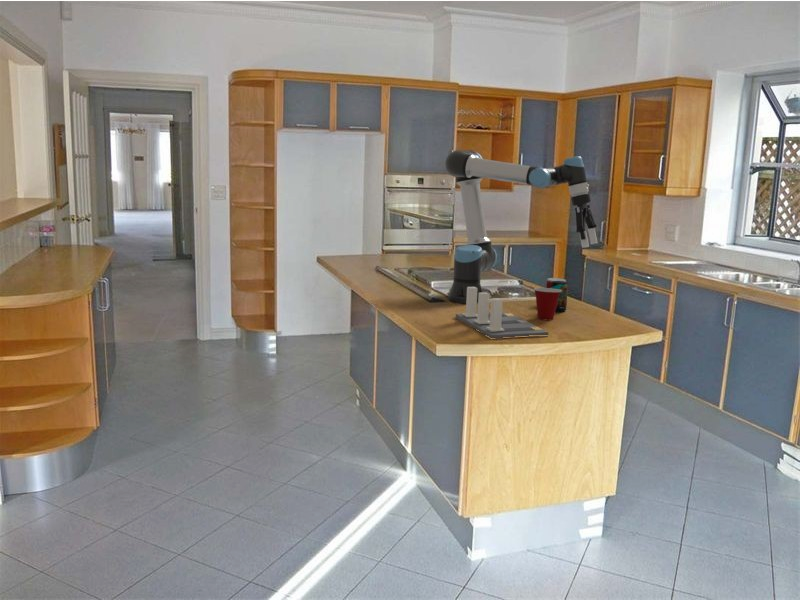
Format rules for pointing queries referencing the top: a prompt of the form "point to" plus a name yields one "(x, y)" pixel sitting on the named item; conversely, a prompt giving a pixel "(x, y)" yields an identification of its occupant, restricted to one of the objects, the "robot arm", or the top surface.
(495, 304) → the slider
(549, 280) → the canned food
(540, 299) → the plastic cup
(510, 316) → the grey base board
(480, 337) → the top surface
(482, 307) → the slider
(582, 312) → the top surface
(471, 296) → the slider
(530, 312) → the top surface
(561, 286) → the beverage can
